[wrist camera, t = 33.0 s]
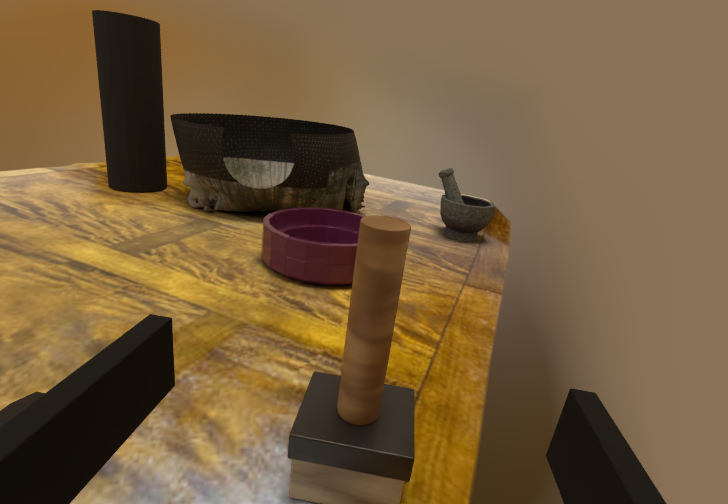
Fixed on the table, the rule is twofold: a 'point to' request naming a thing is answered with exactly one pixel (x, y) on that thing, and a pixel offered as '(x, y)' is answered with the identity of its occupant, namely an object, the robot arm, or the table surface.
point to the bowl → (312, 244)
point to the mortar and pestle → (462, 211)
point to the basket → (268, 163)
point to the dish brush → (360, 391)
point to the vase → (131, 100)
